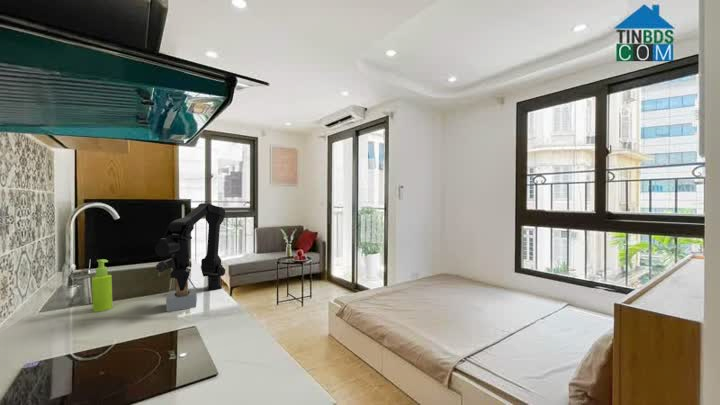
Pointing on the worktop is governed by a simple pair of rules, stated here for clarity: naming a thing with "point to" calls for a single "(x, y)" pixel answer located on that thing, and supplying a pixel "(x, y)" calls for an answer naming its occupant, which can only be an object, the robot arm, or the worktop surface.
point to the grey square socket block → (181, 300)
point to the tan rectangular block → (183, 290)
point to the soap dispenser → (102, 288)
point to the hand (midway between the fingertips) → (182, 289)
